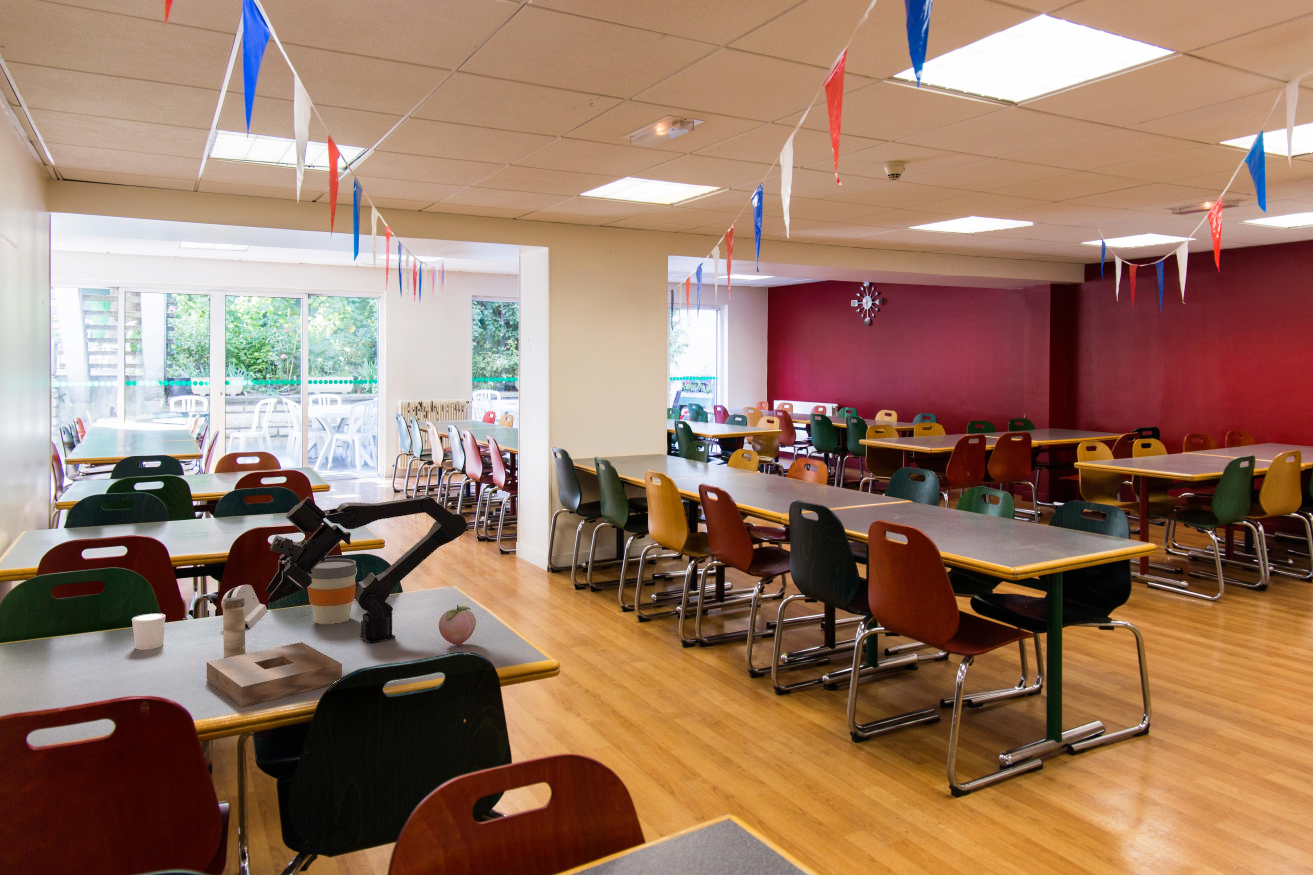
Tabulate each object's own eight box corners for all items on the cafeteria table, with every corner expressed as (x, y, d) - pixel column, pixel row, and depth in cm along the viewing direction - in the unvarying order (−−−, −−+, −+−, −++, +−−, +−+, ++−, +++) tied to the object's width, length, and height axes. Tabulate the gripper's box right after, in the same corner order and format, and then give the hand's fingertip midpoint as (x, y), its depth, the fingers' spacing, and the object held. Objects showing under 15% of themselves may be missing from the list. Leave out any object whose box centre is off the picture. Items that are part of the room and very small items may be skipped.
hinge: (250, 628, 216) (235, 592, 215) (232, 635, 215) (216, 599, 214) (268, 610, 233) (254, 577, 231) (250, 617, 232) (236, 583, 231)
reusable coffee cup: (322, 611, 232) (321, 557, 231) (365, 614, 231) (365, 559, 230) (296, 624, 220) (296, 567, 219) (342, 627, 218) (342, 569, 217)
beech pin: (241, 651, 198) (240, 595, 197) (248, 655, 195) (247, 599, 194) (221, 655, 195) (220, 599, 194) (227, 659, 192) (226, 602, 191)
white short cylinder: (170, 646, 201) (169, 616, 201) (137, 652, 196) (136, 622, 196) (160, 639, 206) (160, 611, 205) (128, 645, 201) (127, 616, 200)
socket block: (302, 659, 193) (302, 642, 193) (342, 682, 179) (341, 663, 179) (206, 680, 179) (206, 661, 179) (242, 706, 165) (241, 686, 165)
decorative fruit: (449, 638, 210) (449, 598, 210) (480, 641, 209) (480, 600, 208) (431, 650, 201) (431, 608, 200) (464, 652, 199) (464, 610, 199)
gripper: (289, 517, 207) (239, 566, 203) (295, 530, 191) (241, 583, 186) (324, 547, 211) (275, 595, 207) (333, 562, 195) (281, 615, 190)
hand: (268, 596), depth 198 cm, fingers open, 9 cm apart
